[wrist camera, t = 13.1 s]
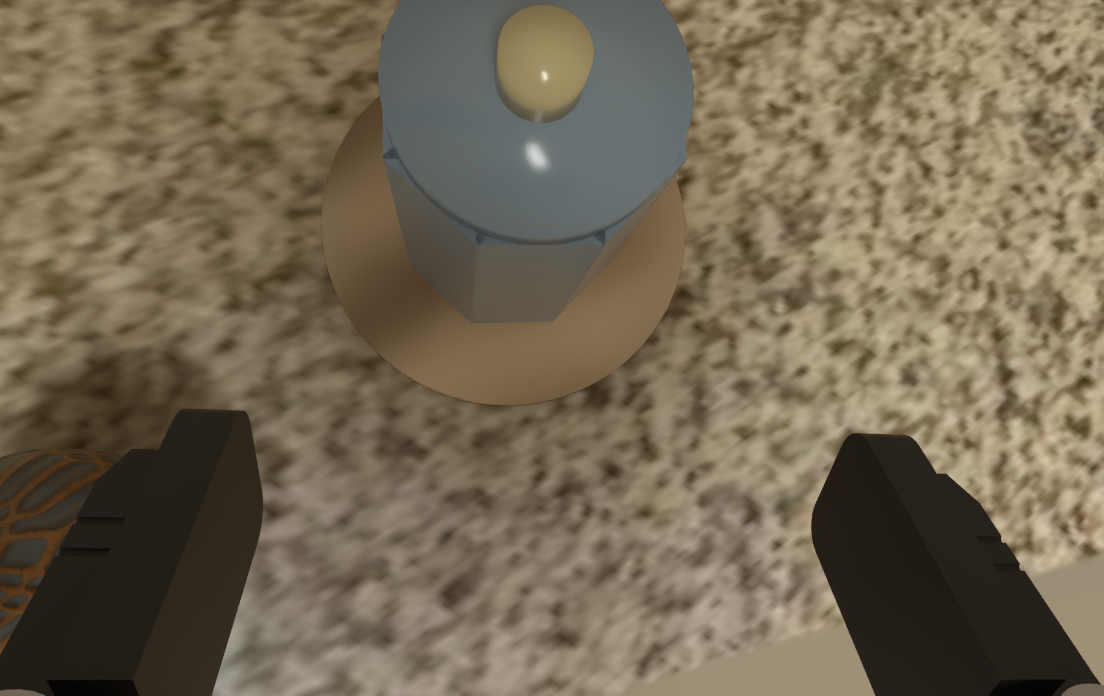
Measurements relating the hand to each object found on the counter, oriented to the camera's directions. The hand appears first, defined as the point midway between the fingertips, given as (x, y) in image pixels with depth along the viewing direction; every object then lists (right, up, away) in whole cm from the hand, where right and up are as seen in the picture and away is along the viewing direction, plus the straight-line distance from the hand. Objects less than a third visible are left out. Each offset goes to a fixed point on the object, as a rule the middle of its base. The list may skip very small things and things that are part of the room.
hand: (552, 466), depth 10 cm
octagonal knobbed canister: (-1, +6, +15) cm, 16 cm away
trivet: (-2, +6, +16) cm, 17 cm away
